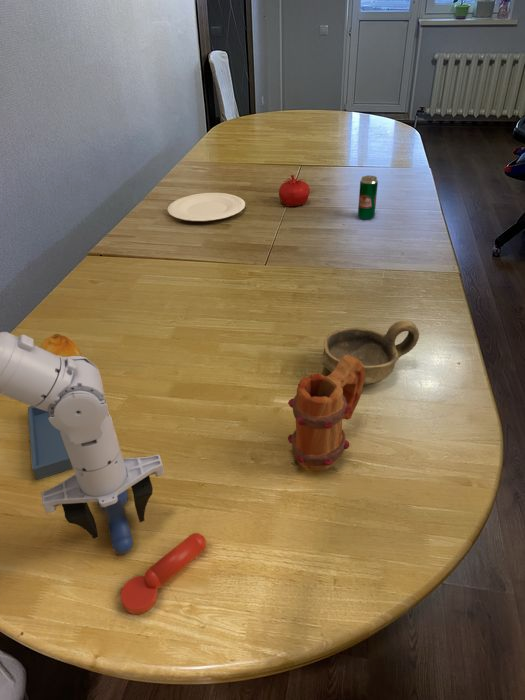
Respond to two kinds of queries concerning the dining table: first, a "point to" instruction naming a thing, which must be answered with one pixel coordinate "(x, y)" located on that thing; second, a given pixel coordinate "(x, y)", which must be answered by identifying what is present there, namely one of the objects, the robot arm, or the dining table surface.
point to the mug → (325, 413)
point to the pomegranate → (294, 192)
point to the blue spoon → (119, 525)
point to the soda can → (367, 197)
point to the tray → (46, 445)
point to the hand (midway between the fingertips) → (118, 523)
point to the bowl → (370, 348)
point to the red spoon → (160, 575)
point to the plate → (206, 207)
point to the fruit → (60, 346)
